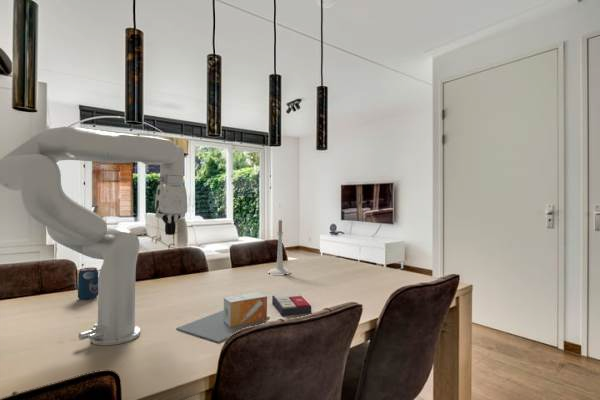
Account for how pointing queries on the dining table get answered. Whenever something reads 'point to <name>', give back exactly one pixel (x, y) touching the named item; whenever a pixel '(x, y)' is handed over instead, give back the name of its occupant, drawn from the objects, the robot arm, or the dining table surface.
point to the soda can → (87, 284)
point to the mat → (213, 327)
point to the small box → (245, 309)
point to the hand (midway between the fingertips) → (170, 234)
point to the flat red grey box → (291, 304)
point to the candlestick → (279, 255)
